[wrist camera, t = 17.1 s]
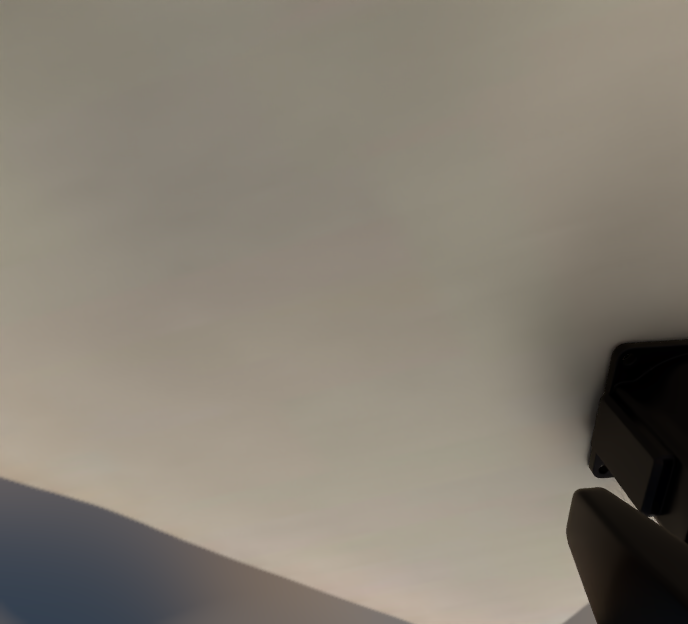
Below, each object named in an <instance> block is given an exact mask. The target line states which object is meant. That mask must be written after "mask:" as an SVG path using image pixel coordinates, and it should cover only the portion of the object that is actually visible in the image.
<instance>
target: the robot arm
mask: <svg viewBox="0 0 688 624" xmlns="http://www.w3.org/2000/svg"><path fill="white" fill-rule="evenodd" d="M627 354H630V355H629V357H628V358H627V359H624V357H625V356H626V355H627ZM623 359H624V360H623ZM591 446H592V451H591V456H590V460H589V468H590V470H591V471H592V473H593V474H594V476H595V477H597V478H611V477H614V478H615V479H616V480H617V482H618V483H619V485H620V486H621V487H622V489H623V490H624V491H625V493H626V494H627V496H628V497H629V498H630V500H631V501H632V502H633V504H634V505H635V507H636V508H637V509H638V510H636V509H635V508H633V507H632V506H630V505H629V504H627V503H626V502H624V501H623V500H621V499H620V498H618V497H617V496H615V495H614V494H612V493H611V492H609V491H608V490H606V489H604V488H601V487H595V488H583V489H578V490H576V491H575V493H574V494H573V498H572V502H571V507H570V512H569V517H568V522H567V528H566V534H567V540H568V544H569V547H570V550H571V553H572V555H573V558H574V561H575V564H576V566H577V569H578V572H579V575H580V578H581V580H582V583H583V586H584V589H585V591H586V594H587V597H588V600H589V602H590V605H591V608H592V611H593V614H594V616H595V619H596V622H597V624H688V339H685V340H669V341H653V342H637V343H625V344H621V345H620V346H618V347H617V348H616V349H615V350H614V351H613V354H612V357H611V362H610V366H609V371H608V376H607V380H606V385H605V390H604V394H603V396H602V397H601V399H600V404H599V408H598V413H597V418H596V423H595V427H594V432H593V437H592V441H591ZM602 465H603V466H602ZM601 466H602V467H601ZM652 516H653V517H654V518H655V519H656V521H657V522H658V523H659V524H657V523H656V522H654V521H653V520H651V519H650V518H648V517H652Z"/></svg>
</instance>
